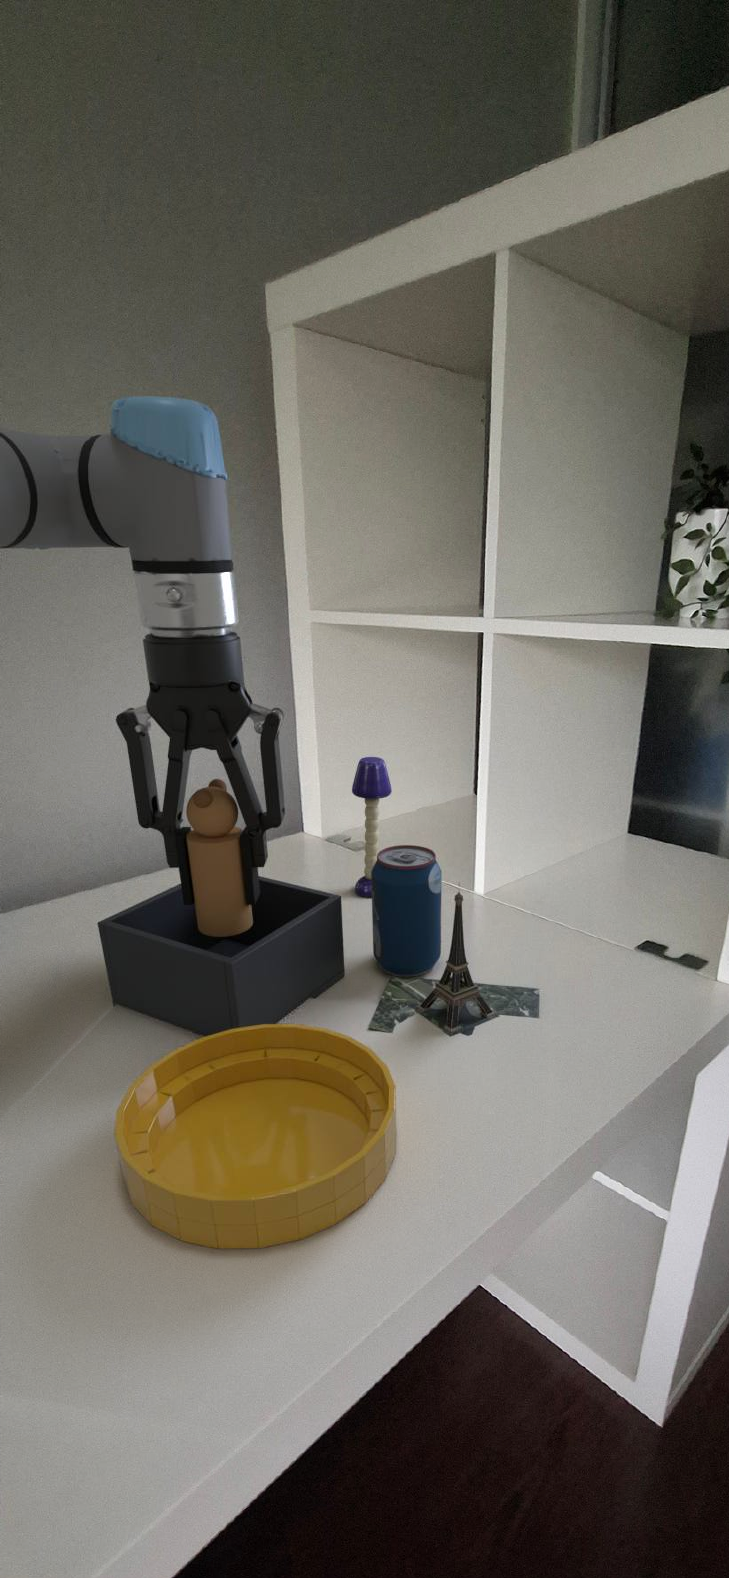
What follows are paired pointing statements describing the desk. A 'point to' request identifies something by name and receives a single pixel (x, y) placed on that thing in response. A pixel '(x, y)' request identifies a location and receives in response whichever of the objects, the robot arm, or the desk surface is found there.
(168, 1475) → the desk surface
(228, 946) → the bin
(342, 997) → the desk surface
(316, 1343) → the desk surface
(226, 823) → the toy bear
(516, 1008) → the eiffel tower figurine
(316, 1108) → the bowl
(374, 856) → the toy lamp
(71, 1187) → the desk surface
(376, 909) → the soda can
